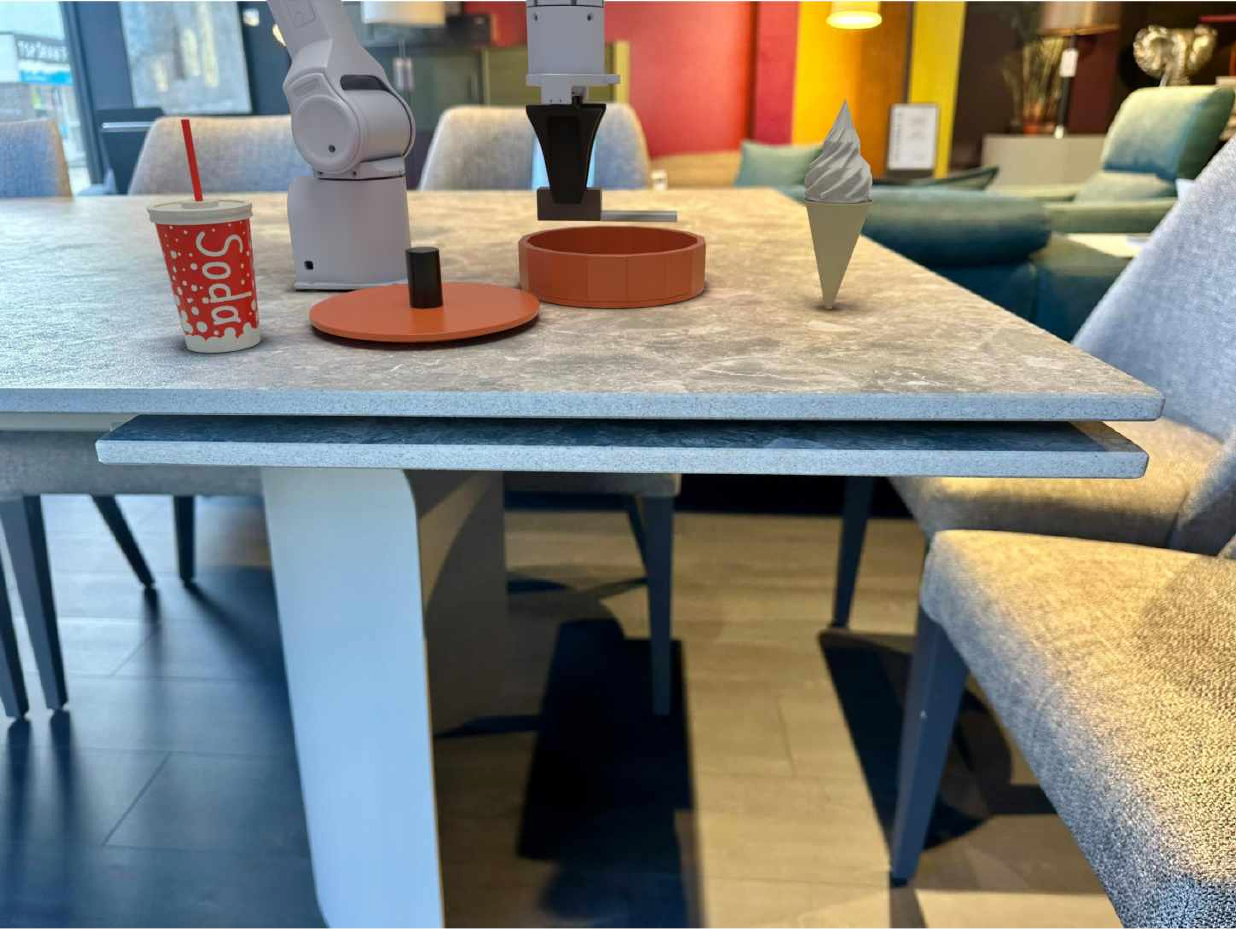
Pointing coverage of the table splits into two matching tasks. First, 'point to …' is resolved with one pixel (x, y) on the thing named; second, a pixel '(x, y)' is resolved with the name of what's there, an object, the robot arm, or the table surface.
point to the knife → (593, 209)
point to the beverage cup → (209, 265)
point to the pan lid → (424, 307)
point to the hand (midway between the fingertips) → (569, 201)
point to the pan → (612, 266)
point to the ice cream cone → (837, 202)
